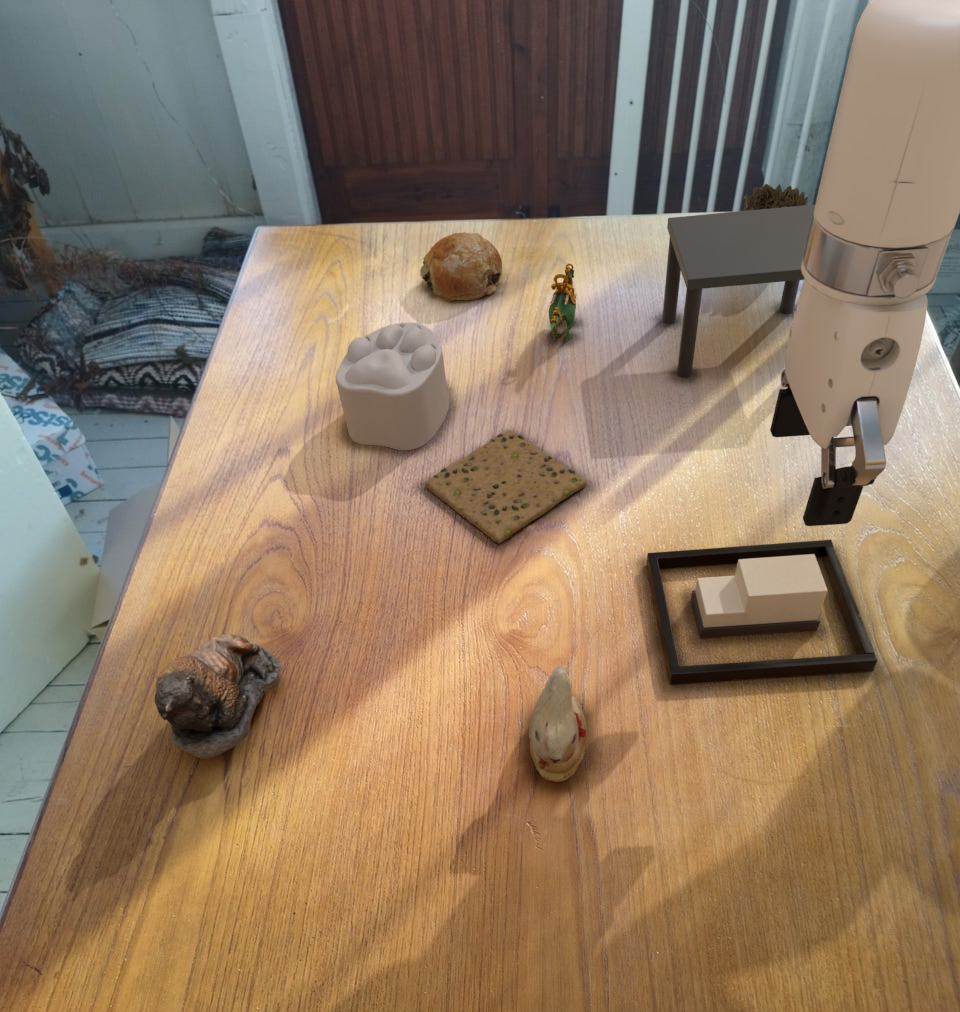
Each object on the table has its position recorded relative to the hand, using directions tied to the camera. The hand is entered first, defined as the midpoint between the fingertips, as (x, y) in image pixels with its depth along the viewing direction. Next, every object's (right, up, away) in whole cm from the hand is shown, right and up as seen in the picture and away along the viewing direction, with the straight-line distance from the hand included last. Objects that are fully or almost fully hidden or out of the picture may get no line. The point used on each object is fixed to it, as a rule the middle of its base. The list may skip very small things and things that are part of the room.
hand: (807, 475), depth 64 cm
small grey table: (+6, +23, +38) cm, 44 cm away
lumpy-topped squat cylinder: (-33, +14, +35) cm, 50 cm away
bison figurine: (-45, -18, +11) cm, 50 cm away
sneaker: (0, -10, +13) cm, 16 cm away
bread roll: (-26, +35, +51) cm, 67 cm away
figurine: (-14, +24, +41) cm, 50 cm away
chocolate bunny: (-18, -21, +6) cm, 28 cm away
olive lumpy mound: (+13, +37, +48) cm, 62 cm away
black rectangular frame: (0, -10, +13) cm, 16 cm away
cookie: (-21, +4, +25) cm, 33 cm away
